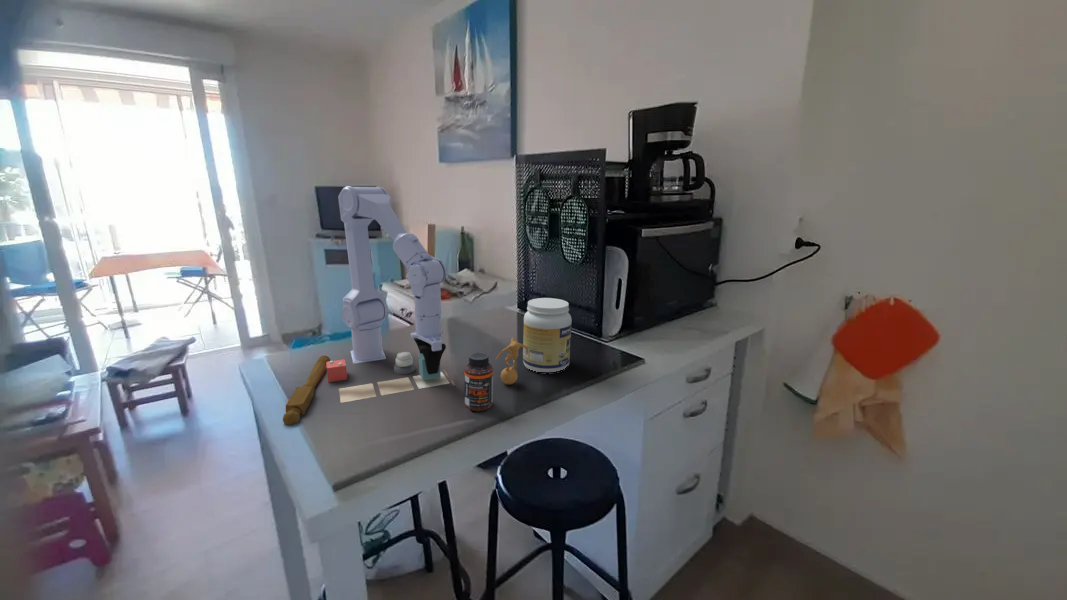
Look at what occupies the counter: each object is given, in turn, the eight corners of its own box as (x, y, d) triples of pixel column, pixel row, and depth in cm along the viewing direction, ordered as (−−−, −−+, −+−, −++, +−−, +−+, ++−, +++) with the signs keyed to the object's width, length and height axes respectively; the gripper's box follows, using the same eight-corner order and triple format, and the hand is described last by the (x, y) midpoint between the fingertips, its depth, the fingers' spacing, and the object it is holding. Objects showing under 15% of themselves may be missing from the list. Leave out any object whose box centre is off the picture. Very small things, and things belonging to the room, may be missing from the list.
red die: (327, 377, 101) (326, 360, 100) (346, 374, 103) (344, 357, 102) (328, 384, 98) (326, 366, 97) (347, 381, 99) (345, 363, 98)
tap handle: (330, 354, 108) (297, 413, 80) (331, 365, 109) (299, 428, 81) (317, 355, 107) (279, 415, 79) (318, 366, 108) (281, 430, 80)
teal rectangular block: (436, 370, 102) (435, 351, 101) (440, 377, 99) (439, 357, 98) (419, 373, 101) (418, 353, 99) (423, 380, 97) (422, 360, 96)
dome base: (392, 369, 106) (392, 363, 106) (413, 366, 108) (412, 360, 108) (396, 377, 102) (395, 370, 101) (417, 374, 104) (416, 367, 104)
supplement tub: (566, 377, 104) (569, 310, 100) (517, 372, 107) (518, 306, 102) (571, 358, 116) (575, 298, 112) (528, 354, 118) (529, 294, 114)
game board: (333, 389, 96) (333, 386, 95) (444, 370, 107) (444, 368, 106) (336, 409, 87) (335, 407, 87) (455, 387, 98) (455, 385, 98)
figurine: (520, 376, 104) (521, 330, 101) (532, 387, 99) (534, 338, 96) (489, 383, 100) (489, 335, 97) (500, 394, 95) (500, 343, 92)
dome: (394, 361, 105) (393, 352, 105) (411, 359, 107) (410, 350, 107) (397, 367, 102) (396, 358, 101) (414, 365, 104) (413, 356, 103)
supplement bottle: (466, 414, 87) (465, 362, 84) (462, 400, 92) (461, 351, 89) (495, 410, 88) (495, 359, 85) (490, 397, 94) (490, 349, 91)
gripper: (403, 306, 100) (406, 360, 104) (416, 324, 88) (419, 385, 91) (433, 304, 104) (435, 356, 107) (450, 320, 91) (452, 379, 94)
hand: (430, 369), depth 99 cm, fingers closed on teal rectangular block, 4 cm apart
